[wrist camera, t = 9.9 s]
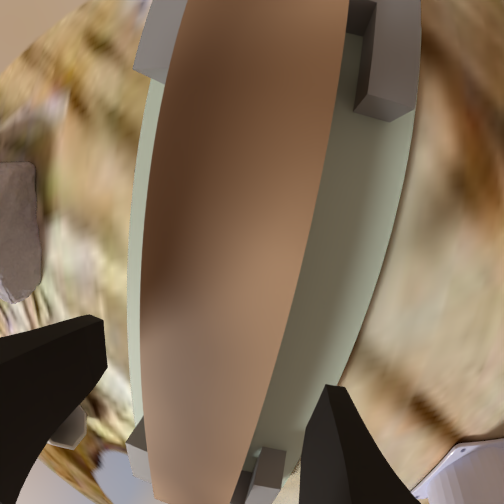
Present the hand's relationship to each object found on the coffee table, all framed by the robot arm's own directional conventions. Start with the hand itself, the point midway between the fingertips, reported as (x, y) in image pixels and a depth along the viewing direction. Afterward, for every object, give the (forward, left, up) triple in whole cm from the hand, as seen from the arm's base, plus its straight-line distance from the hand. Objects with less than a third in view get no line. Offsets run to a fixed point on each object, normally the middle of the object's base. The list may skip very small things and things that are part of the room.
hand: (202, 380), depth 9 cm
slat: (0, 0, -5) cm, 5 cm away
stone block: (+19, 0, -6) cm, 20 cm away
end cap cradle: (0, 0, -6) cm, 6 cm away
